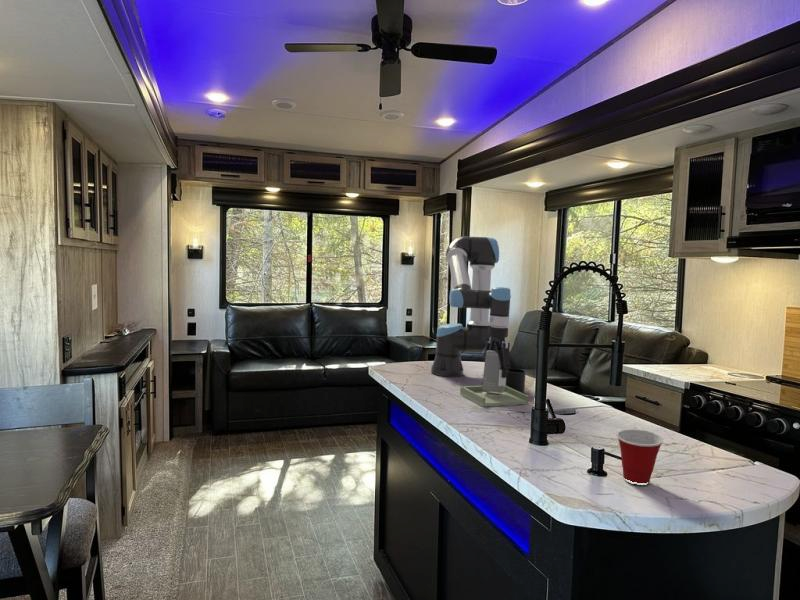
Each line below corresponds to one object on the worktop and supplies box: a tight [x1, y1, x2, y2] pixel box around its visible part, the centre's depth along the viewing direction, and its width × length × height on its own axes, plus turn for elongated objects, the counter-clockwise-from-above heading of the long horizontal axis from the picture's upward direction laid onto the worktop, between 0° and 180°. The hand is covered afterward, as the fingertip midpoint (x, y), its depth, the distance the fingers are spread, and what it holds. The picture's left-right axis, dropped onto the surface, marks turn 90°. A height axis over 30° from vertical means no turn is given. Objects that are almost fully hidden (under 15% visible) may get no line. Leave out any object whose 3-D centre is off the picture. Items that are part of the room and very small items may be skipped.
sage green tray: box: [459, 385, 530, 408], centre depth 209 cm, size 18×20×3 cm
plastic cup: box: [616, 428, 664, 483], centre depth 134 cm, size 11×11×12 cm
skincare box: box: [481, 350, 507, 393], centre depth 212 cm, size 8×7×16 cm
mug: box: [506, 367, 527, 394], centre depth 224 cm, size 9×12×9 cm
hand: (494, 382), depth 212 cm, fingers closed on skincare box, 10 cm apart
